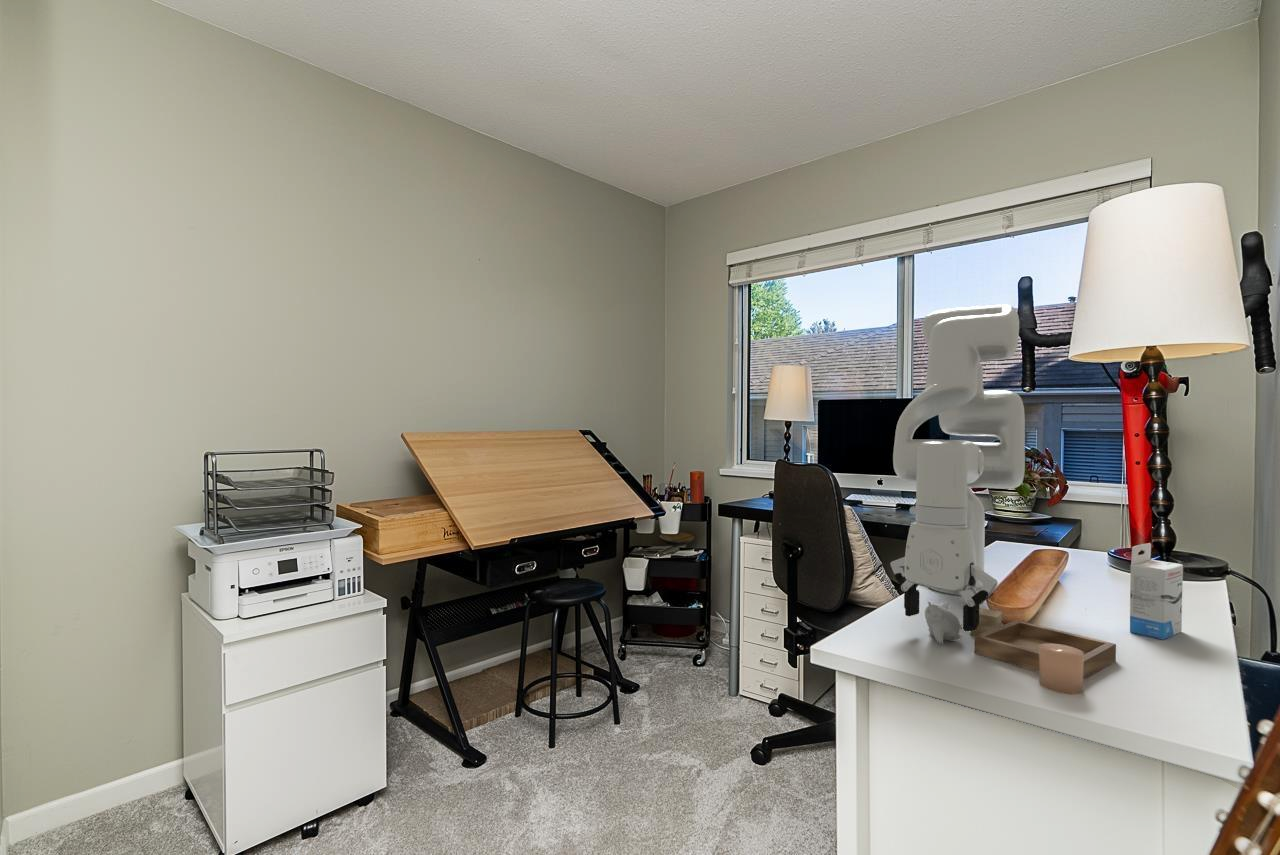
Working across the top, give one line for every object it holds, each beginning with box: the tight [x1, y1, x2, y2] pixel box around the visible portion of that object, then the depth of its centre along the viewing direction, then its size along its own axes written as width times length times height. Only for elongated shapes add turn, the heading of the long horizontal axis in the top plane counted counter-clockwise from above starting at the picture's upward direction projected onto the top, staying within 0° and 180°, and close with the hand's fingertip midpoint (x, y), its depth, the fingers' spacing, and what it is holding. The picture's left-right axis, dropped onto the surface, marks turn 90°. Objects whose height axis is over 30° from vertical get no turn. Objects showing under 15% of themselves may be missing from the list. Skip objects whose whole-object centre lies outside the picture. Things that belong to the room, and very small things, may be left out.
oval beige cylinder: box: [1038, 643, 1084, 695], centre depth 85 cm, size 5×5×5 cm
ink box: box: [1129, 542, 1184, 640], centre depth 108 cm, size 8×5×15 cm, turn 123°
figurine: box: [924, 601, 963, 646], centre depth 103 cm, size 8×6×8 cm
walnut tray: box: [973, 619, 1117, 681], centre depth 96 cm, size 14×14×3 cm
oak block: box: [969, 607, 1003, 638], centre depth 106 cm, size 4×4×4 cm
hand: (940, 622), depth 103 cm, fingers open, 9 cm apart
